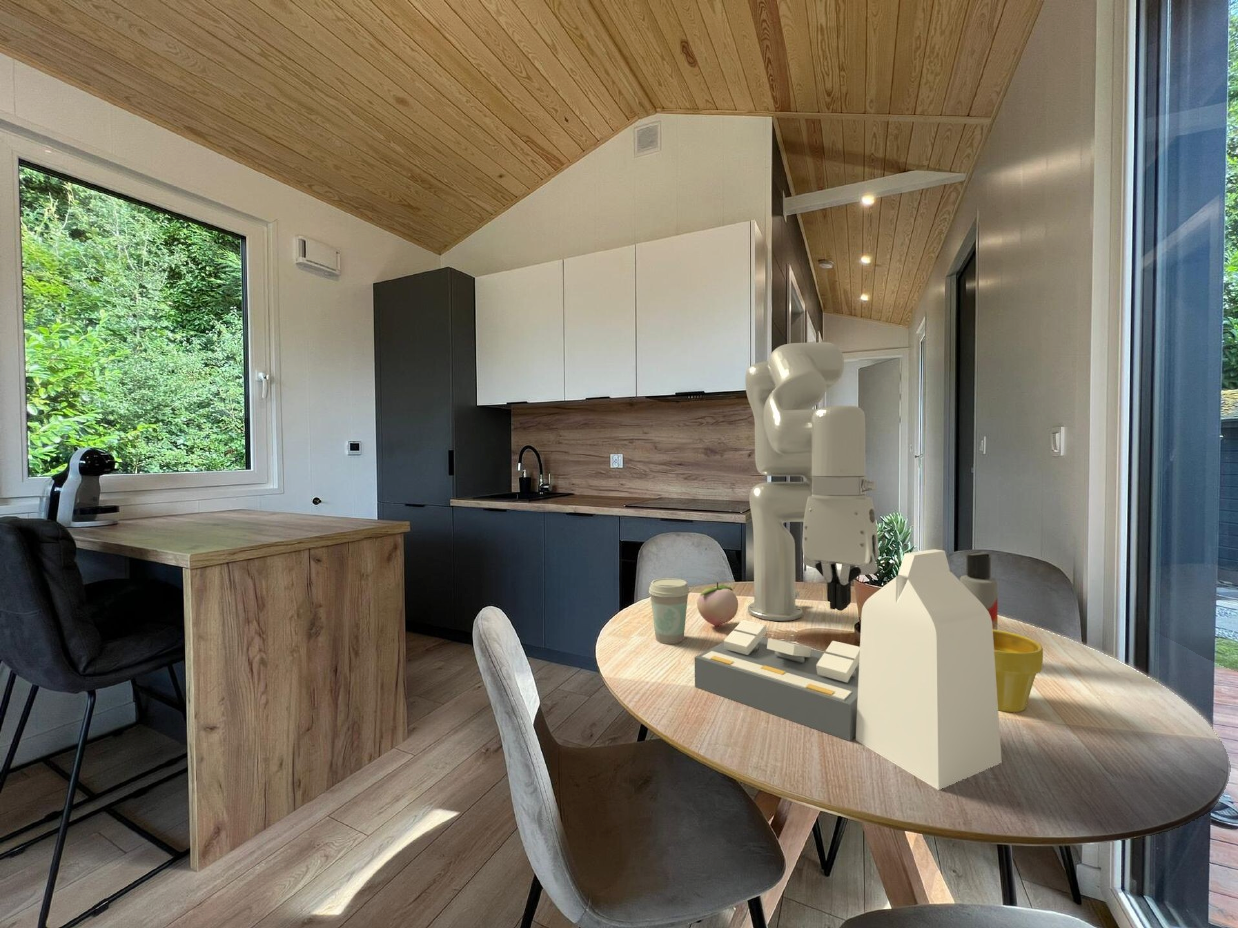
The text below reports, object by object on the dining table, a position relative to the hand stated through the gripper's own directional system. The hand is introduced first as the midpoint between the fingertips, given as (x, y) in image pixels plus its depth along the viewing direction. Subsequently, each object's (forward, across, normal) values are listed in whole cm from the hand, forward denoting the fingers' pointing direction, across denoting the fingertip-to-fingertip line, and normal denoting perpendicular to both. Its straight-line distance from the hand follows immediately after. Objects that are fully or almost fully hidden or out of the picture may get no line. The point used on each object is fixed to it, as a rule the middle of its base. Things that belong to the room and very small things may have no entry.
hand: (839, 607), depth 79 cm
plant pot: (+15, -18, -17) cm, 29 cm away
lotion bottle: (+15, -13, -34) cm, 39 cm away
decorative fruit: (+15, +33, -19) cm, 41 cm away
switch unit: (+15, +8, +1) cm, 17 cm away
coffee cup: (+15, +37, -6) cm, 41 cm away
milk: (+15, -13, +5) cm, 20 cm away
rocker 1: (+8, +16, 0) cm, 18 cm away
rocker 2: (+8, +8, 0) cm, 11 cm away
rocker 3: (+8, 0, 0) cm, 8 cm away
